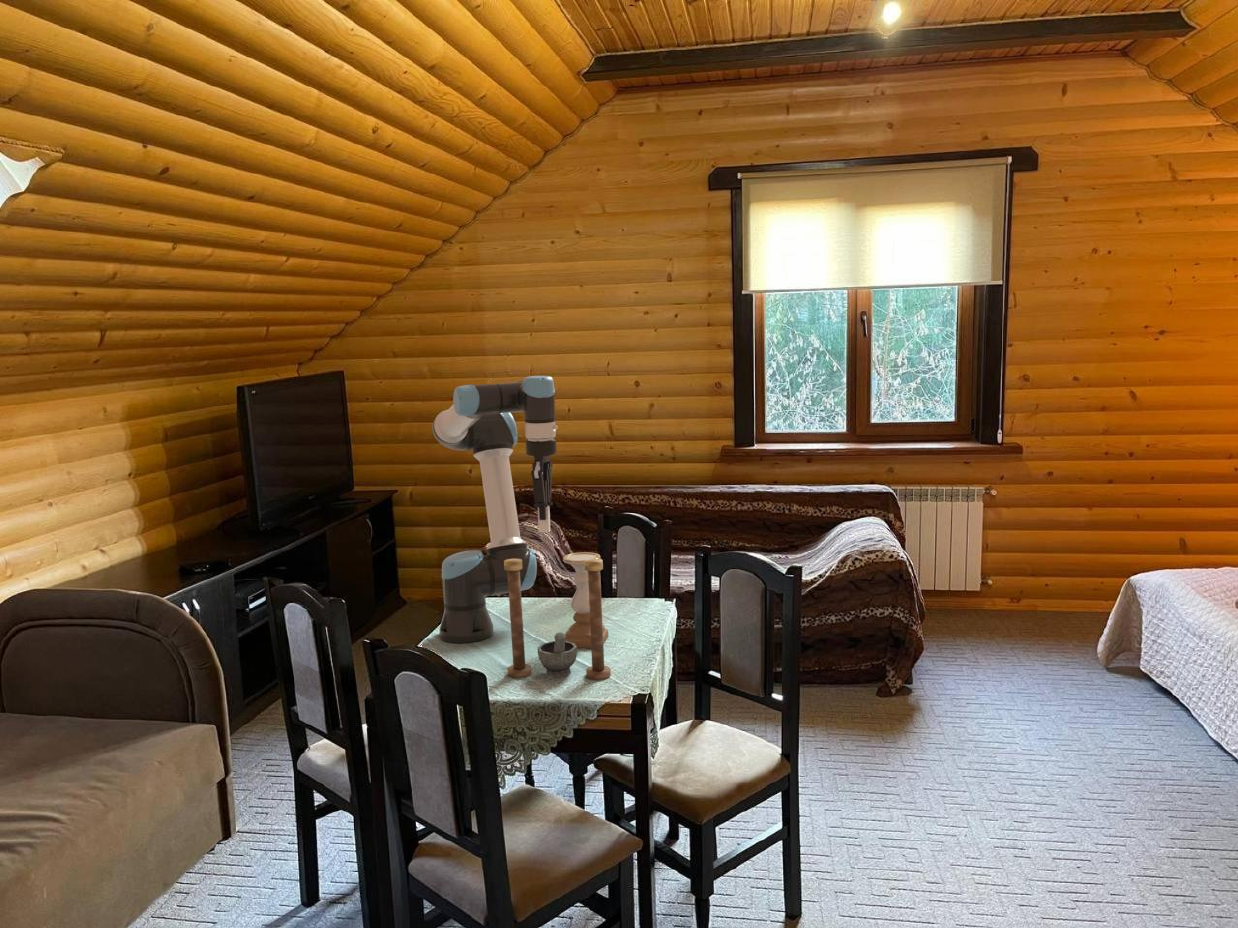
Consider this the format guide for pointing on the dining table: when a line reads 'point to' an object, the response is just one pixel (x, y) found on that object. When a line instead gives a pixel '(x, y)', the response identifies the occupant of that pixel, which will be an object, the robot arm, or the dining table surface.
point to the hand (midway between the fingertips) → (544, 531)
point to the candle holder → (581, 602)
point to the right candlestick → (596, 621)
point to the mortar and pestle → (557, 656)
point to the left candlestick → (516, 620)
